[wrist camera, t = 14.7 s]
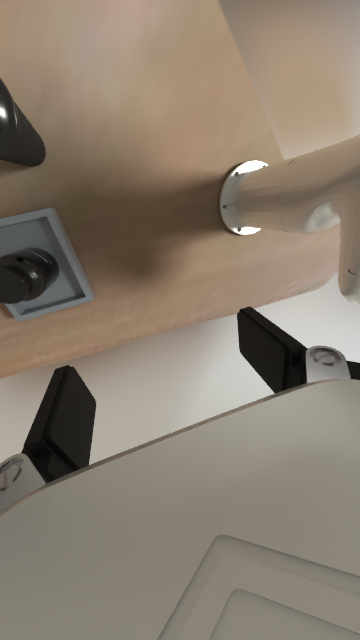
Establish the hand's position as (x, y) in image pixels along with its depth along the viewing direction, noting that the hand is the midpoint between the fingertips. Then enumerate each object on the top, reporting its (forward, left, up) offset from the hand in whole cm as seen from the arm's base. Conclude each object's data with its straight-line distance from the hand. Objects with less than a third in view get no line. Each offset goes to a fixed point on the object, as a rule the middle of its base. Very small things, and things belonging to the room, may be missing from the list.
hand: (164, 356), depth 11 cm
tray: (+17, -2, -33) cm, 37 cm away
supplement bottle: (+17, -2, -33) cm, 37 cm away
